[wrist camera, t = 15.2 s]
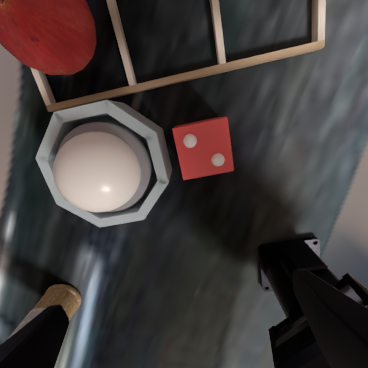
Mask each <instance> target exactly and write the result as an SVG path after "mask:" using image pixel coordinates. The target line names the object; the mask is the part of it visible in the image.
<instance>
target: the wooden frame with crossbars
mask: <svg viewBox="0 0 368 368" xmlns="http://www.w3.org/2000/svg"><path fill="white" fill-rule="evenodd" d="M106 1H107V5H108V8H109V12H110V16H111V20H112V23H113V27H114V31H115V34H116V38H117V42H118V46H119V49H120V53H121V57H122V61H123V64H124V68H125V72H126V75H127V79H128V83H129V86H126V87H122V88H118V89H114V90H110V91H105V92H101V93H97V94H93V95H88V96H84V97H80V98H76V99H72V100H67V101H63V102H59V103H56V101H55V98H54V96H53V93H52V91H51V88H50V85H49V83H48V80H47V78H46V75H45V73H43V72H41V71H38V70H36V69H33V68H31V67H30V68H31V71H32V73H33V76H34V78H35V80H36V83H37V85H38V88H39V90H40V93H41V95H42V98H43V100H44V103H45V105H46V107H47V110H48V112H56V111H60V110H64V109H69V108H73V107H77V106H81V105H86V104H90V103H94V102H99V101H103V100H107V99H112V98H116V97H120V96H124V95H129V94H133V93H137V92H142V91H146V90H150V89H154V88H159V87H163V86H167V85H172V84H176V83H180V82H185V81H189V80H193V79H197V78H202V77H206V76H210V75H215V74H219V73H223V72H227V71H232V70H236V69H240V68H245V67H249V66H253V65H258V64H262V63H266V62H270V61H275V60H279V59H283V58H288V57H292V56H296V55H300V54H305V53H309V52H313V51H318V50H320V49H322V48H324V45H325V8H326V0H312V43H308V44H304V45H300V46H295V47H291V48H287V49H283V50H278V51H274V52H270V53H266V54H262V55H257V56H253V57H249V58H245V59H240V60H236V61H232V62H228V63H226V59H225V50H224V42H223V33H222V25H221V16H220V8H219V0H210V7H211V15H212V23H213V30H214V38H215V46H216V54H217V61H218V65H215V66H211V67H207V68H202V69H198V70H194V71H190V72H186V73H181V74H177V75H173V76H169V77H164V78H160V79H156V80H152V81H148V82H143V83H139V84H137V82H136V78H135V74H134V70H133V66H132V62H131V59H130V55H129V51H128V47H127V43H126V39H125V35H124V31H123V27H122V23H121V20H120V16H119V12H118V8H117V4H116V0H106Z"/></svg>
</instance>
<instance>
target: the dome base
mask: <svg viewBox="0 0 368 368" xmlns="http://www.w3.org/2000/svg"><path fill="white" fill-rule="evenodd" d="M94 122H116V123H119V124H122V125H125V126H127V127H129V128H130V129H132V130H133V131H135V132H136V133H138V134H139V135H140V136H141V137H142V139H143V140H144V141H145V142H146V144H147V146H148V148H149V150H150V153H151V157H152V161H153V175H152V178H151V181H150V183H149V185H148V187H147V189H146V190H145V192H144V194H143V195H142V197H141V198H140V199H139V200H138V201H137V202H136V203H135V204H133V205H132V206H130V207H128V208H126V209H124V210H120V211H114V212H89V211H85V210H82V209H79V208H77V207H75V206H73V205H72V204H70V203H69V202H68V201H67V200H66V199H65V198H64V197H63V196H62V195H61V194H60V192H59V191H58V189H57V187H56V184H55V182H54V177H53V165H54V161H55V158H56V155H57V153H58V149H59V146H60V144H61V142H62V140H63V139H64V137H65V136H66V135H67V134H68V133H69V132H70V131H72V130H73V129H74V128H76V127H78V126H80V125H83V124H87V123H94ZM172 130H173V135H174V139H175V144H176V149H177V153H178V158H179V163H180V167H181V172H182V176H183V180H188V179H193V178H199V177H204V176H209V175H215V174H220V173H225V172H230V171H234V165H233V157H232V149H231V141H230V133H229V125H228V117H215V118H210V119H206V120H201V121H196V122H192V123H187V124H182V125H178V126H175V127H174V128H173V129H172ZM36 161H37V163H38V165H39V167H40V169H41V171H42V173H43V176H44V178H45V180H46V182H47V184H48V186H49V189H50V191H51V193H52V195H53V197H54V199H55V202H56V204H57V205H59V206H61V207H63V208H65V209H67V210H68V211H70V212H72V213H74V214H76V215H78V216H80V217H81V218H83V219H85V220H87V221H89V222H91V223H93V224H95V225H96V226H98V227H105V226H111V225H117V224H122V223H128V222H134V221H139V220H144V219H145V217H146V216H147V214H148V213H149V211H150V210H151V208H152V207H153V205H154V204H155V202H156V201H157V200H158V198H159V197H160V195H161V194H162V192H163V191H164V189H165V188H166V186H167V185H168V183H169V180H170V176H171V173H172V166H171V162H170V158H169V153H168V149H167V145H166V140H165V136H164V132H163V129H162V128H161V127H159V126H158V125H156V124H155V123H153V122H152V121H150V120H149V119H147V118H146V117H144V116H143V115H141V114H140V113H138V112H137V111H135V110H134V109H132V108H131V107H130V106H128V105H127V104H125V103H121V102H116V101H111V100H104V101H99V102H95V103H91V104H87V105H82V106H78V107H74V108H69V109H65V110H61V111H56V112H54V113H53V116H52V118H51V121H50V123H49V126H48V128H47V131H46V133H45V136H44V138H43V140H42V143H41V145H40V148H39V150H38V153H37V155H36Z"/></svg>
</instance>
